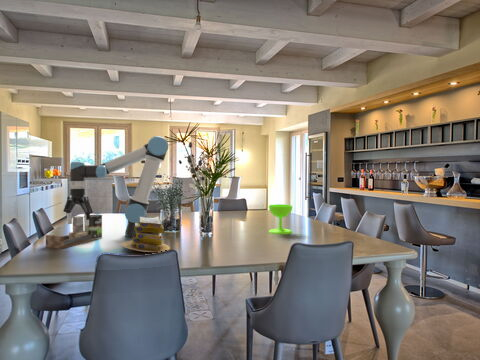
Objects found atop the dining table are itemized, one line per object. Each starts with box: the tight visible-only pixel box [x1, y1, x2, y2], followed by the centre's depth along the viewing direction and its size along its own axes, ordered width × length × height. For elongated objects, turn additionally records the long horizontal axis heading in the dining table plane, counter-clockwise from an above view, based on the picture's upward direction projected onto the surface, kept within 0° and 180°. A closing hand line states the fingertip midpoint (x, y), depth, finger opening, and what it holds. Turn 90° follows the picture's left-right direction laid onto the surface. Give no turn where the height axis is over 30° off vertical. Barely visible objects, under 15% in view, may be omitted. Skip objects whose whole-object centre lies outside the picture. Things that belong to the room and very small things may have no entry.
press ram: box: [68, 215, 88, 239], centre depth 200 cm, size 8×7×13 cm
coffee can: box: [83, 214, 103, 241], centre depth 211 cm, size 10×10×14 cm
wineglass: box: [268, 203, 293, 235], centre depth 232 cm, size 16×16×18 cm
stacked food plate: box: [121, 216, 171, 253], centre depth 182 cm, size 25×25×17 cm
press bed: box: [45, 234, 93, 250], centre depth 195 cm, size 12×21×6 cm, turn 158°
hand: (78, 224), depth 200 cm, fingers open, 13 cm apart
